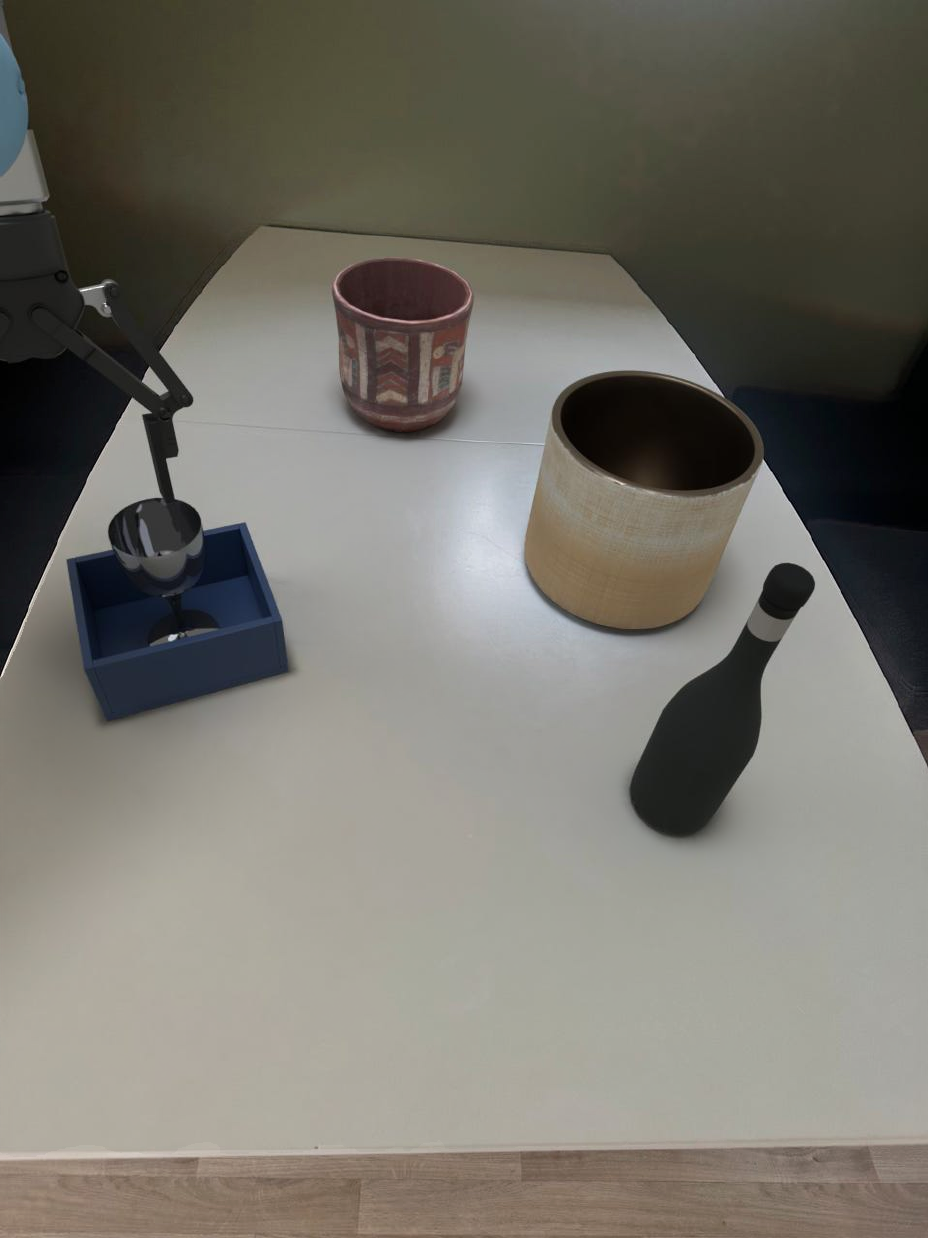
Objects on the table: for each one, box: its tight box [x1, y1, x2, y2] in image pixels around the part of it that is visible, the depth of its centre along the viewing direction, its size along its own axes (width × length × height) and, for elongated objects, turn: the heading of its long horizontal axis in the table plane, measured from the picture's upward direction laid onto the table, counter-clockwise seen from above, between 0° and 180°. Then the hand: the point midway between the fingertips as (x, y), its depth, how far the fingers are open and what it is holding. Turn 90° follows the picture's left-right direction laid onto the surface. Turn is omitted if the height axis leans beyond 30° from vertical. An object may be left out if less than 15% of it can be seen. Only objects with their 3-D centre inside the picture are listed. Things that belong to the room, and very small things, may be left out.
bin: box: [65, 521, 290, 722], centre depth 80 cm, size 18×15×8 cm
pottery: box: [331, 257, 475, 433], centre depth 107 cm, size 18×18×18 cm
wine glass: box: [107, 497, 220, 647], centre depth 77 cm, size 8×8×15 cm
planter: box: [524, 369, 765, 630], centre depth 88 cm, size 22×22×20 cm
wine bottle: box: [630, 562, 816, 835], centre depth 64 cm, size 8×8×30 cm
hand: (78, 514), depth 62 cm, fingers open, 13 cm apart
